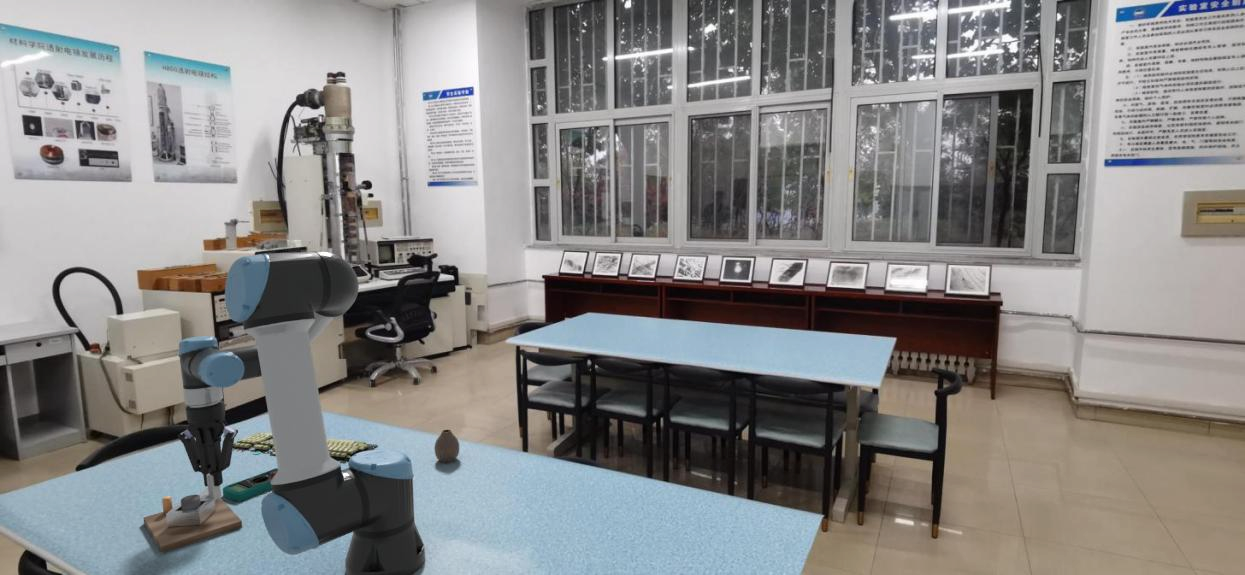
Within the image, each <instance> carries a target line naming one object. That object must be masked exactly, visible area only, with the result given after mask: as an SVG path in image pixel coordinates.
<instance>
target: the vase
mask: <svg viewBox="0 0 1245 575" xmlns="http://www.w3.org/2000/svg"><path fill="white" fill-rule="evenodd" d="M433 449H434V455H435V457H436V459H437V460H438V461H439V462H441V463H443V462H448V463H452V462H454V461H455V460H456V459H457V458H458V456H459V453H460V441H459V439H458V437H456V435H455V434H454V433H453V432H452V430H451V429H449V428H448V429H442V431H441V434H440V435H439V436H438V437H437V439H436V440H435V443H434V448H433ZM453 460H454V461H453ZM451 461H452V462H451Z"/></svg>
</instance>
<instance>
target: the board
mask: <svg viewBox="0 0 1245 575" xmlns="http://www.w3.org/2000/svg"><path fill="white" fill-rule="evenodd" d="M180 502H181V509H182V511H185V510H197V509H198V508H199V507H200V506H201V503H200V496H199V494H189V495H186V496H183V497H182V498H181V499H180ZM215 506H216V511H215V512H213V513H212V514H211V515H210V516H209V517H208V518H207V519H206V520H205V521H204V522H203V523H202V524H201V525H188V526H172V527H167V518H166V514H164V513H163V511H161V512H158V513H154V514H151V515H148V516H145V517H143V524H144V526H145V528H146V529H147V532H148V533H149V535H150V536H151V538H152V540H153V541H154V543H155V545H156V546H157V548H158V549H159V551H160V553H161V554H164V553H167V552H171V551H173V550H177V549H180V548H182V547H185V546H188V545H191V544H194V543H197V542H200V541H203V540H206V539H210V538H213V537H215V536H219V535H222V534H225V533H228V532H231V531H233V530H234V531H235V530H238V529H240V528H243V521H242V520H241V518H240V517H239V516H238V515H237V514H236V513H235V512H234V510H233V509H232V508H230V506H229V505H228V504H227V503H226V502H225V501H224V500H223V499H222V497H219V499H218V500H217V501H216V502H215Z"/></svg>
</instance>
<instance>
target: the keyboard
mask: <svg viewBox="0 0 1245 575" xmlns="http://www.w3.org/2000/svg"><path fill="white" fill-rule="evenodd" d="M271 439H272V440H271ZM327 443H328V449H329V455H330V457H331V458H332V459H334V460H336V461H337V460H338V461H339V463H340V464H346V463H348V462H349V459H350V458H351V457H352V456H353V455H354V454H357V453H359V452H363V451H369V450H375V449H376V448H377V447H379V445H378V444H375V445H374V444H373V443H372V444H371V443H366V442H365V441H361V440H360V441H359V440H358V441H356V440H353V439H351V440H350V439H336V438H327ZM251 447H253V448H252V450H251ZM373 447H374V448H373ZM270 449H271V450H270ZM235 450H236V451H237V452H239V450H241V452H242V453H243V452H244V451H249V450H250V453H252V452H253V455H254V456H256V455H261V453H262V454H263V455H264V454H265V455H269V456H272V457H273V456H274V457H276V454H275V448H274V443H273V437H272V432H266V433H265V432H256V433H254V434H252V435H251V436H247V437H245V438H242V439H238V440H237V442H234V444H233V450H232V452H234V451H235Z"/></svg>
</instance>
